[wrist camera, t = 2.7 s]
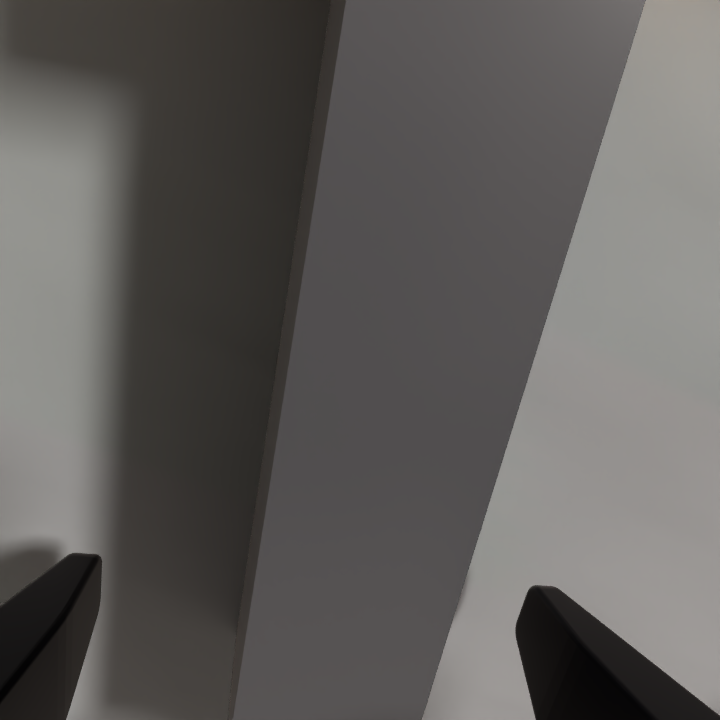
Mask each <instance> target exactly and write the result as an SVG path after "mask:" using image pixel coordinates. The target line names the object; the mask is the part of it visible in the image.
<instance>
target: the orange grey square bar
mask: <svg viewBox="0 0 720 720" xmlns="http://www.w3.org/2000/svg"><path fill="white" fill-rule="evenodd" d="M645 1H646V0H331V4H330V10H329V17H328V24H327V30H326V37H325V44H324V50H323V57H322V64H321V70H320V77H319V84H318V90H317V97H316V104H315V111H314V117H313V124H312V131H311V137H310V144H309V151H308V157H307V164H306V171H305V177H304V184H303V191H302V197H301V204H300V211H299V217H298V224H297V231H296V238H295V244H294V251H293V258H292V264H291V271H290V278H289V284H288V291H287V298H286V304H285V311H284V318H283V324H282V331H281V338H280V345H279V351H278V358H277V365H276V371H275V378H274V385H273V391H272V398H271V405H270V411H269V418H268V425H267V431H266V438H265V445H264V451H263V458H262V465H261V472H260V478H259V485H258V492H257V498H256V505H255V512H254V518H253V525H252V532H251V538H250V545H249V552H248V558H247V565H246V572H245V579H244V585H243V592H242V599H241V605H240V612H239V619H238V625H237V632H236V642H235V652H234V662H233V672H232V682H231V692H230V702H229V712H228V720H422V717H423V714H424V710H425V707H426V704H427V701H428V698H429V694H430V691H431V688H432V685H433V681H434V678H435V675H436V672H437V669H438V665H439V662H440V659H441V656H442V653H443V649H444V646H445V643H446V640H447V637H448V633H449V630H450V627H451V624H452V620H453V617H454V614H455V611H456V608H457V604H458V601H459V598H460V595H461V592H462V588H463V585H464V582H465V579H466V576H467V572H468V569H469V566H470V563H471V559H472V556H473V553H474V550H475V547H476V543H477V540H478V537H479V534H480V531H481V527H482V524H483V521H484V518H485V515H486V511H487V508H488V505H489V502H490V498H491V495H492V492H493V489H494V486H495V482H496V479H497V476H498V473H499V470H500V466H501V463H502V460H503V457H504V454H505V450H506V447H507V444H508V441H509V437H510V434H511V431H512V428H513V425H514V421H515V418H516V415H517V412H518V409H519V405H520V402H521V399H522V396H523V392H524V389H525V386H526V383H527V380H528V376H529V373H530V370H531V367H532V364H533V360H534V357H535V354H536V351H537V348H538V344H539V341H540V338H541V335H542V331H543V328H544V325H545V322H546V319H547V315H548V312H549V309H550V306H551V303H552V299H553V296H554V293H555V290H556V287H557V283H558V280H559V277H560V274H561V270H562V267H563V264H564V261H565V258H566V254H567V251H568V248H569V245H570V242H571V238H572V235H573V232H574V229H575V226H576V222H577V219H578V216H579V213H580V209H581V206H582V203H583V200H584V197H585V193H586V190H587V187H588V184H589V181H590V177H591V174H592V171H593V168H594V165H595V161H596V158H597V155H598V152H599V148H600V145H601V142H602V139H603V136H604V132H605V129H606V126H607V123H608V120H609V116H610V113H611V110H612V107H613V104H614V100H615V97H616V94H617V91H618V87H619V84H620V81H621V78H622V75H623V71H624V68H625V65H626V62H627V59H628V55H629V52H630V49H631V46H632V43H633V39H634V36H635V33H636V30H637V26H638V23H639V20H640V17H641V14H642V10H643V7H644V4H645Z"/></svg>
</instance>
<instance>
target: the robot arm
mask: <svg viewBox="0 0 720 720" xmlns="http://www.w3.org/2000/svg"><path fill="white" fill-rule="evenodd" d="M101 577H102V559H101V557H100V556H99V555H97V554H85V553H72V554H69V555H67V556H66V557H65V558H63V559H62V560H61V561H59V562H58V563H57V564H55V565H54V566H53V567H51V568H50V569H49V570H48V571H46V572H45V573H44V574H42V575H41V576H40V577H38V578H37V579H36V580H34V581H33V582H32V583H30V584H29V585H28V586H26V587H25V588H24V589H22V590H21V591H20V592H18V593H17V594H16V595H15V596H13V597H12V598H11V599H9V600H8V601H7V602H5V603H4V604H3V605H1V606H0V720H66V718H67V715H68V712H69V709H70V706H71V702H72V699H73V696H74V692H75V689H76V686H77V682H78V679H79V676H80V672H81V669H82V666H83V662H84V659H85V656H86V652H87V649H88V646H89V642H90V639H91V636H92V632H93V629H94V626H95V622H96V619H97V615H98V611H99V606H100V599H101ZM516 640H517V644H518V648H519V652H520V657H521V661H522V665H523V669H524V673H525V677H526V681H527V685H528V689H529V693H530V698H531V702H532V706H533V710H534V714H535V718H536V720H720V716H719V715H718V714H717V713H715V712H714V711H713V710H712V709H710V708H709V707H708V706H707V705H705V704H704V703H703V702H702V701H700V700H699V699H698V698H696V697H695V696H694V695H693V694H691V693H690V692H689V691H688V690H686V689H685V688H684V687H683V686H681V685H680V684H679V683H677V682H676V681H675V680H674V679H672V678H671V677H670V676H669V675H667V674H666V673H665V672H664V671H662V670H661V669H660V668H658V667H657V666H656V665H655V664H653V663H652V662H651V661H650V660H648V659H647V658H646V657H644V656H643V655H642V654H641V653H639V652H638V651H637V650H636V649H634V648H633V647H632V646H631V645H629V644H628V643H627V642H625V641H624V640H623V639H622V638H620V637H619V636H618V635H617V634H615V633H614V632H613V631H612V630H610V629H609V628H608V627H606V626H605V625H604V624H603V623H601V622H600V621H599V620H598V619H596V618H595V617H594V616H593V615H591V614H590V613H589V612H587V611H586V610H585V609H584V608H582V607H581V606H580V605H579V604H577V603H576V602H575V601H573V600H572V599H571V598H570V597H568V596H567V595H566V594H565V593H563V592H562V591H561V590H559V589H558V588H556V587H553V586H540V585H535V586H532V587H531V588H530V589H529V590H528V592H527V595H526V597H525V600H524V603H523V606H522V609H521V611H520V614H519V617H518V620H517V623H516Z"/></svg>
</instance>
